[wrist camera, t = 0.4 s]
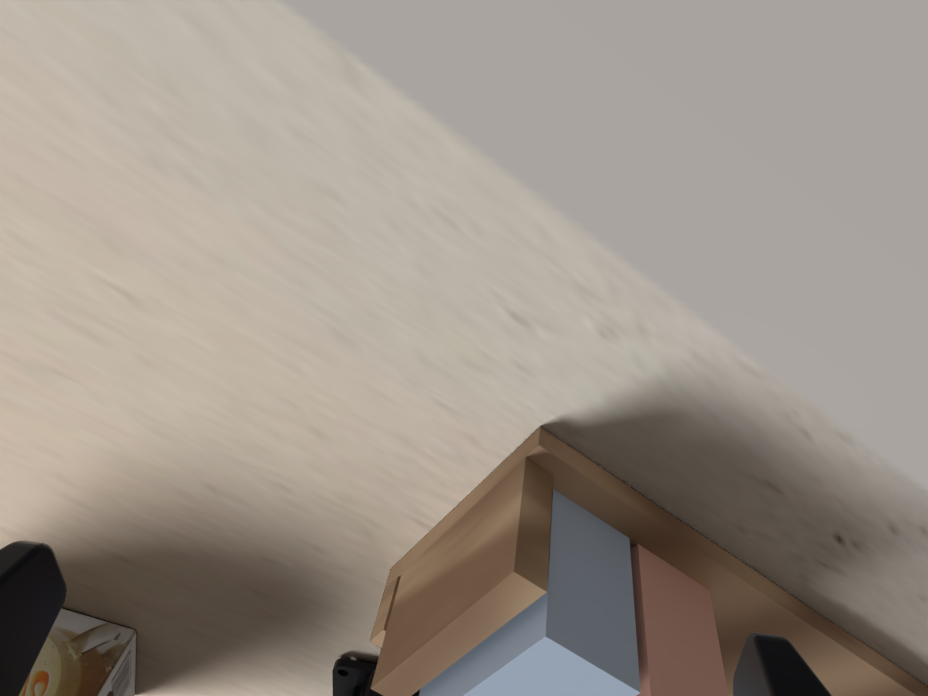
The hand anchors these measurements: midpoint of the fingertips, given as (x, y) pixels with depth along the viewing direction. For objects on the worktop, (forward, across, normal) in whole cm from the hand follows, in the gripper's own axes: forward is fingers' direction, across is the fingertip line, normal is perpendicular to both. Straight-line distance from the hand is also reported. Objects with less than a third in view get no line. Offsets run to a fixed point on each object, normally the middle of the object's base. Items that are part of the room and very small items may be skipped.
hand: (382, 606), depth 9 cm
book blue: (+13, -2, +14) cm, 19 cm away
